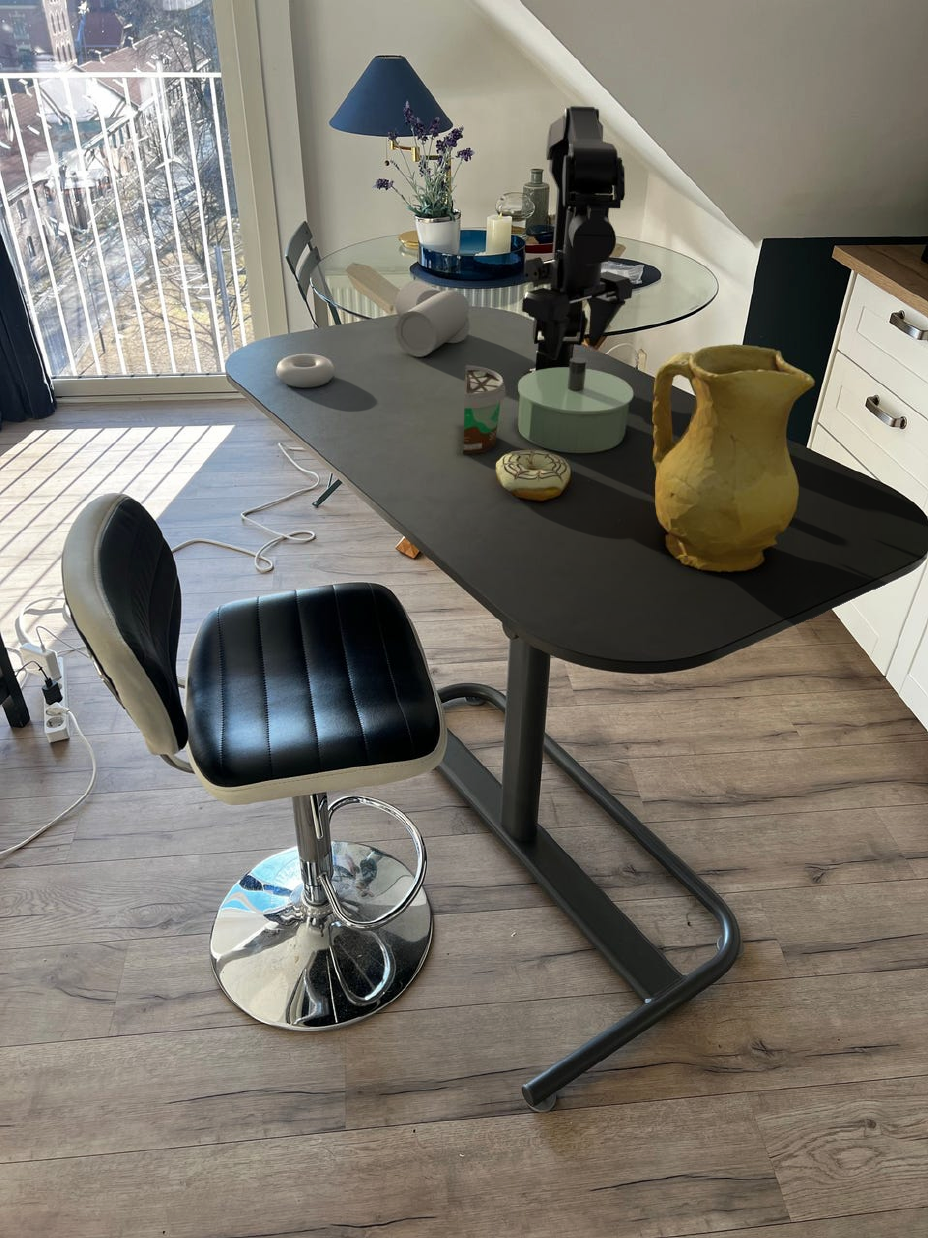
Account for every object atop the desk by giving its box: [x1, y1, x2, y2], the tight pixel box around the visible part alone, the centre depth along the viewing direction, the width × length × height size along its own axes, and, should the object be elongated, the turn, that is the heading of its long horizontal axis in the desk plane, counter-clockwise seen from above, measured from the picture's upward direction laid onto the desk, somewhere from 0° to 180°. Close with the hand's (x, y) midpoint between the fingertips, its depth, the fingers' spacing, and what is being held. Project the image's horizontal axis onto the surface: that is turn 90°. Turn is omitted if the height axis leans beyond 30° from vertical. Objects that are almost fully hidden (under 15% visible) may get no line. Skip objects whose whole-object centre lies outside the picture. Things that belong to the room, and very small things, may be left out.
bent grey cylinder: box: [395, 280, 470, 358], centre depth 176 cm, size 18×10×20 cm
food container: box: [462, 364, 507, 455], centre depth 139 cm, size 12×6×10 cm, turn 179°
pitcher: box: [651, 343, 816, 573], centre depth 112 cm, size 17×19×25 cm
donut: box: [276, 353, 335, 388], centre depth 160 cm, size 10×4×10 cm
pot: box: [517, 394, 630, 454], centre depth 145 cm, size 17×17×6 cm
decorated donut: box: [495, 449, 572, 502], centre depth 130 cm, size 10×11×4 cm
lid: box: [517, 356, 634, 414], centre depth 142 cm, size 18×18×6 cm
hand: (572, 352), depth 140 cm, fingers open, 9 cm apart
